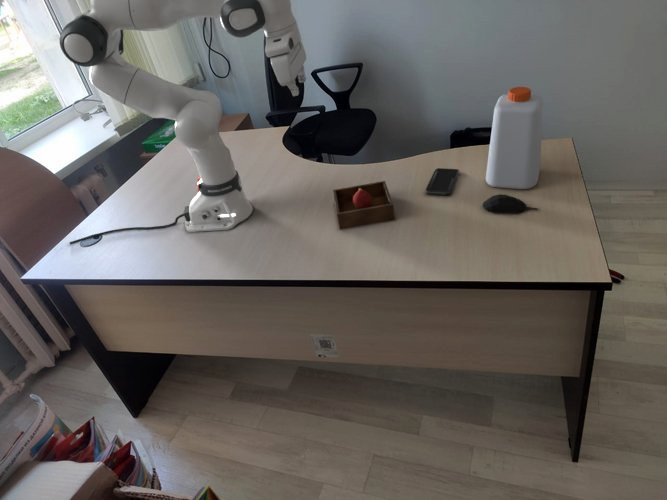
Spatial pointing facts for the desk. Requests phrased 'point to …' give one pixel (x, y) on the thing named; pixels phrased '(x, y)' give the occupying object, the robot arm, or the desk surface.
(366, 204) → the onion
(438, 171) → the phone
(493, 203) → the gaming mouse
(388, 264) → the desk surface
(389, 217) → the wooden box
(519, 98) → the plastic bottle
